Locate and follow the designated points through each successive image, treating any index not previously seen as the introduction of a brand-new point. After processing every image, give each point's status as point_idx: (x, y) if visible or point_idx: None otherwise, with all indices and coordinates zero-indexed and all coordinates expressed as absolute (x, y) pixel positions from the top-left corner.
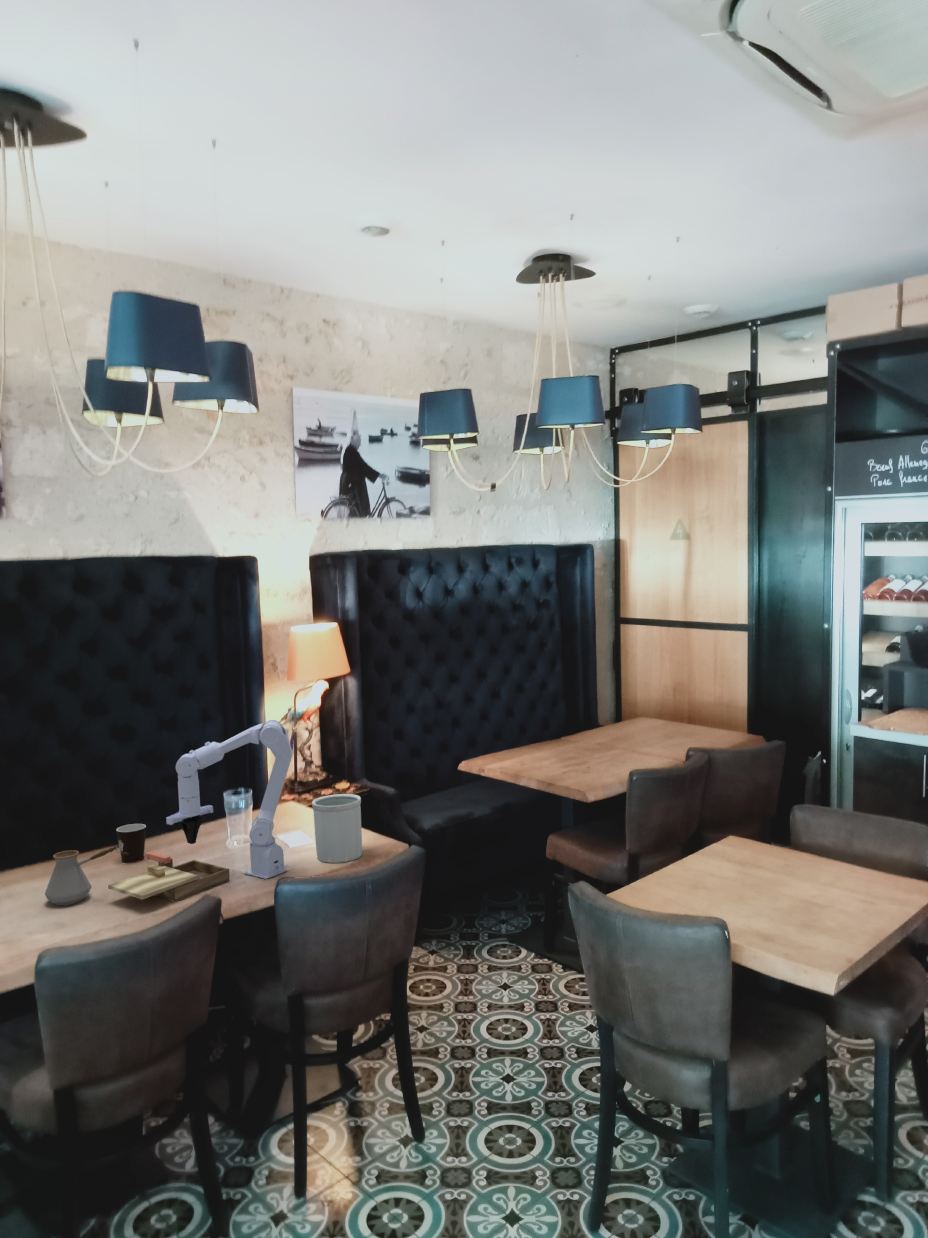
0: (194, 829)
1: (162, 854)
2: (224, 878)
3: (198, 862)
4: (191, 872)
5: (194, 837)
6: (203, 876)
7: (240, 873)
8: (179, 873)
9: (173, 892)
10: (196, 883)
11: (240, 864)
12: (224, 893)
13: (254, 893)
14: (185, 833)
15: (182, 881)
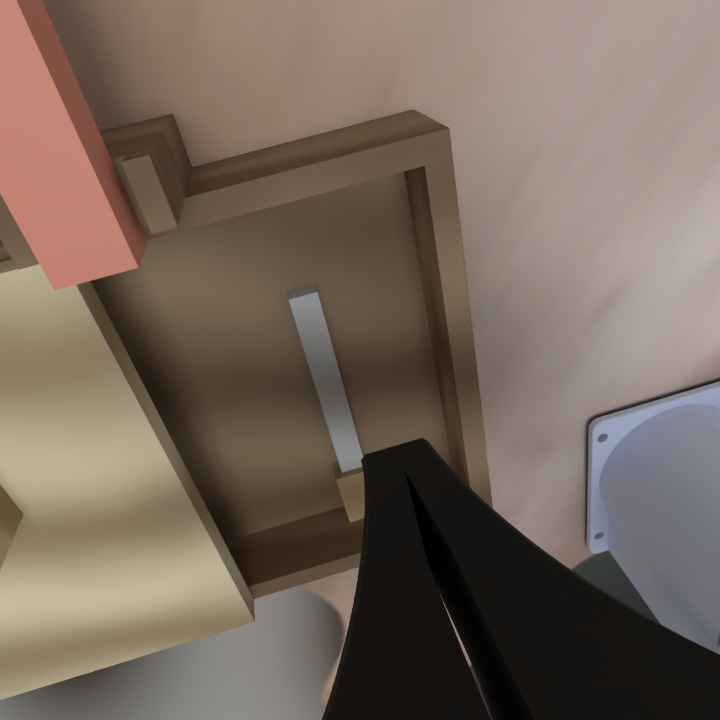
0: (493, 712)
1: (50, 85)
2: None
3: (436, 248)
4: (356, 198)
5: (440, 593)
6: (379, 356)
7: (585, 389)
8: (150, 534)
9: None
10: None
11: (714, 223)
12: (350, 594)
13: None
14: (370, 578)
15: (126, 659)
